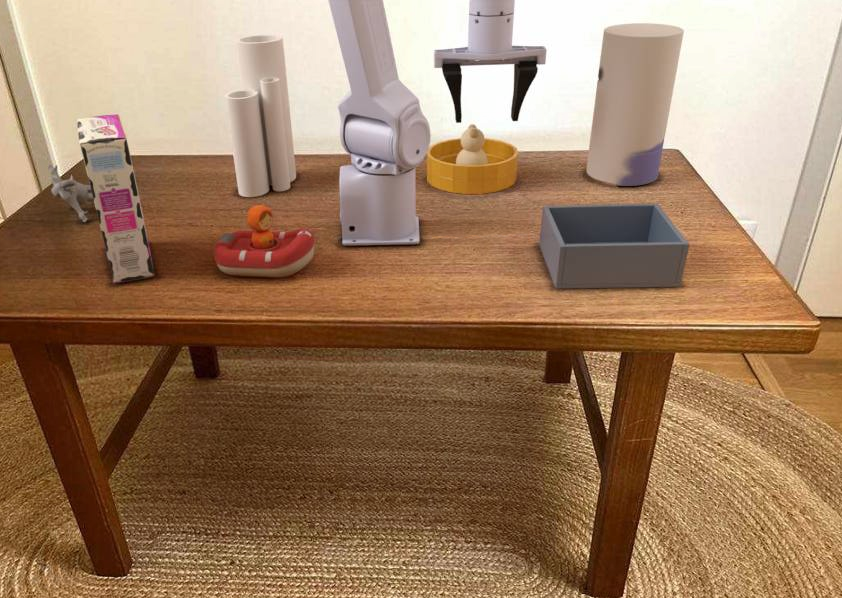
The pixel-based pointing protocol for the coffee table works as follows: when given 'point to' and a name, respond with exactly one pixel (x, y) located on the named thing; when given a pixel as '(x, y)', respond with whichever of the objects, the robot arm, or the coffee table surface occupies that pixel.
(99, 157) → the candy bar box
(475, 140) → the beige rounded figure
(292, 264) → the toy boat
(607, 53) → the container
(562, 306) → the coffee table surface
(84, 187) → the elephant figurine
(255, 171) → the vase
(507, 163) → the bowl
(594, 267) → the bin
